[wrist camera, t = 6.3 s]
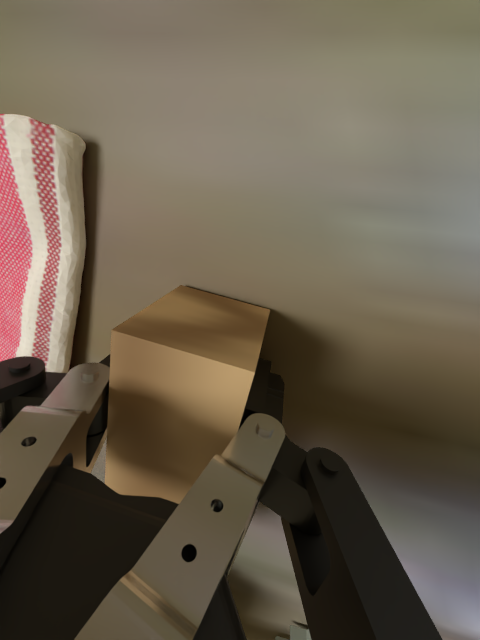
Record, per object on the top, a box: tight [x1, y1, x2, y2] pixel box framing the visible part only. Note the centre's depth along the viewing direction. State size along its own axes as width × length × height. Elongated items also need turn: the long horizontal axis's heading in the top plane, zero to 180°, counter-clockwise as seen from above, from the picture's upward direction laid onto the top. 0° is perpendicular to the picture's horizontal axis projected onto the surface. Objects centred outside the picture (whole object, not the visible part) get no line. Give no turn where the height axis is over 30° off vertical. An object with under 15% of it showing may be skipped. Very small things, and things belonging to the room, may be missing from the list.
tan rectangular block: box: [105, 285, 270, 504], centre depth 12 cm, size 4×12×6 cm, turn 167°
